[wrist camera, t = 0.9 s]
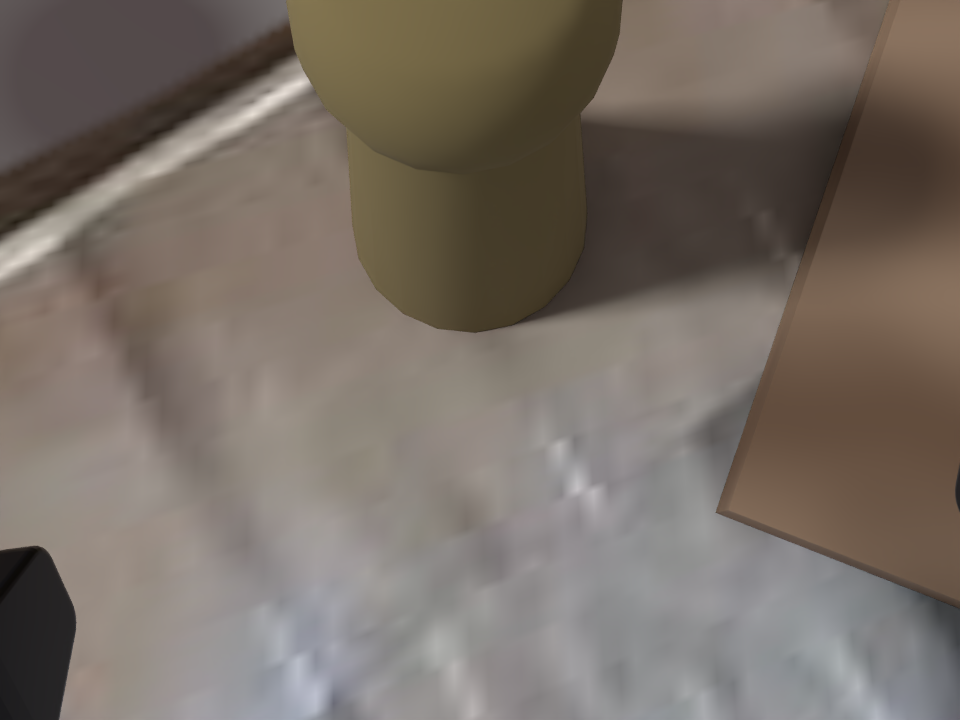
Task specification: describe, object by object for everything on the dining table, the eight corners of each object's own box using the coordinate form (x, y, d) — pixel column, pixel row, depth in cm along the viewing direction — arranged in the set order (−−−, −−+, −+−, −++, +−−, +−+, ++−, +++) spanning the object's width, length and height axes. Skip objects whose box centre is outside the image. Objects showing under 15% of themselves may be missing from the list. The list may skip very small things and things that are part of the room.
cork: (612, 141, 24) (713, -203, 13) (554, 359, 22) (611, 181, 12) (390, 86, 24) (309, -292, 13) (322, 297, 23) (171, 70, 12)
